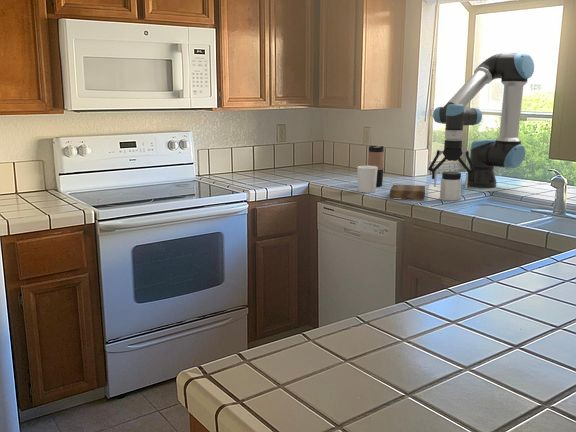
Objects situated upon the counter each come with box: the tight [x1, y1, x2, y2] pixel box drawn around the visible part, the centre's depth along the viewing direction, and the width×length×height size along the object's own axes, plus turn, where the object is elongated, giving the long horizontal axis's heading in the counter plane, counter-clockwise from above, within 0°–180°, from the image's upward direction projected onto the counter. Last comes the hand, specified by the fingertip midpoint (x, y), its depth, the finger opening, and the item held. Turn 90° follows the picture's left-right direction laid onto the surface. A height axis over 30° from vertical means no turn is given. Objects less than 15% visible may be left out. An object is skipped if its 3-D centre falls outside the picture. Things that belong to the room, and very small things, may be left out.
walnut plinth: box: [389, 184, 426, 201], centre depth 275 cm, size 15×15×4 cm
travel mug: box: [367, 145, 385, 188], centre depth 301 cm, size 8×8×20 cm
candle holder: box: [356, 165, 378, 194], centre depth 287 cm, size 10×10×12 cm
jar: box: [439, 171, 462, 202], centre depth 267 cm, size 9×8×12 cm
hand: (450, 187), depth 267 cm, fingers open, 13 cm apart
